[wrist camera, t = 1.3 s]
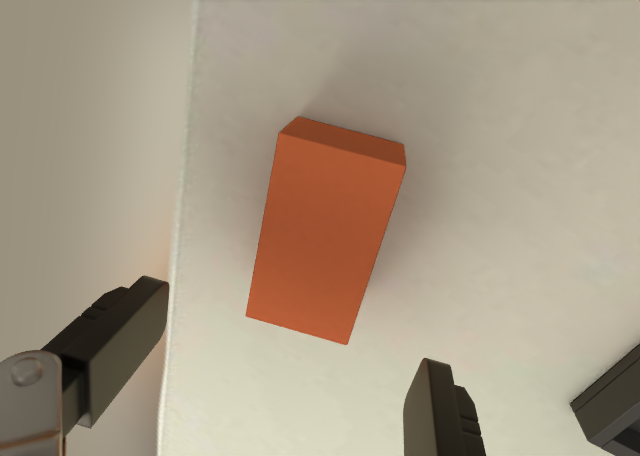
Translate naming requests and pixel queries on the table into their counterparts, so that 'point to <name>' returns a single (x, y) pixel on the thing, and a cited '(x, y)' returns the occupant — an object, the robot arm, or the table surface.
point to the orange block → (323, 227)
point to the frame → (613, 408)
